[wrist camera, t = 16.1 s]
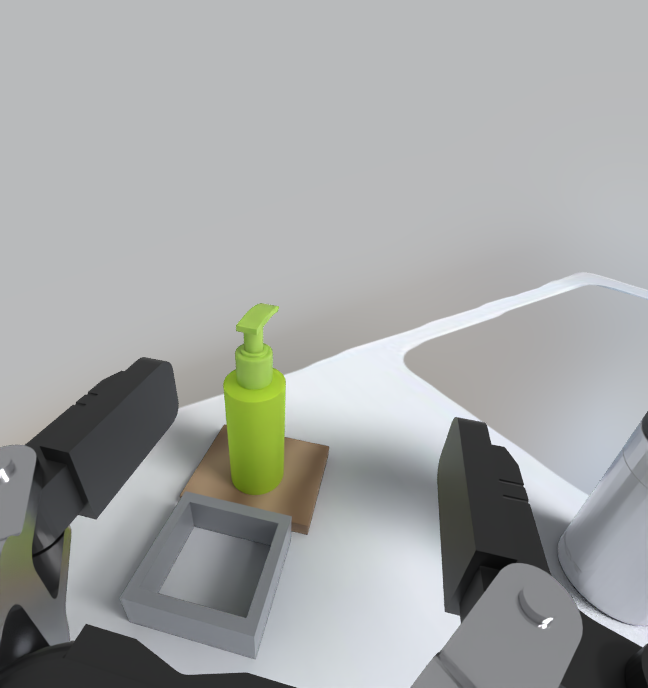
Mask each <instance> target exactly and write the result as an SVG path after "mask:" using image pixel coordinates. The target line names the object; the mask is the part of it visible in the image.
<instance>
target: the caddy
mask: <svg viewBox="0 0 648 688" xmlns="http://www.w3.org/2000/svg"><path fill="white" fill-rule="evenodd" d="M291 522H292V516H288V515H284V514H280V513H275V512H271V511H267V510H263V509H259V508H254V507H250V506H246V505H242V504H238V503H233V502H229V501H225V500H221V499H217V498H213V497H208V496H204V495H200V494H196V493H192V492H187V491H185V492H184V494H183V496H182V497H181V499H180V501H179V502H178V504H177V505H176V507H175V509H174V510H173V512H172V513H171V515H170V517H169V518H168V520H167V522H166V523H165V525H164V526H163V528H162V530H161V531H160V533H159V535H158V536H157V538H156V539H155V541H154V543H153V544H152V546H151V547H150V549H149V551H148V552H147V554H146V556H145V557H144V559H143V560H142V562H141V564H140V565H139V567H138V569H137V570H136V572H135V573H134V575H133V577H132V578H131V580H130V581H129V583H128V585H127V586H126V588H125V590H124V591H123V593H122V594H121V596H120V601H121V603H122V605H123V608H124V610H125V612H126V615H127V617H128V619H129V622H132V623H135V624H139V625H142V626H145V627H149V628H152V629H155V630H159V631H162V632H166V633H169V634H172V635H176V636H179V637H182V638H186V639H189V640H193V641H196V642H199V643H203V644H206V645H209V646H213V647H216V648H220V649H223V650H226V651H230V652H233V653H236V654H240V655H243V656H246V657H250V658H253V659H256V656H257V652H258V649H259V646H260V642H261V639H262V636H263V632H264V629H265V625H266V622H267V619H268V615H269V612H270V609H271V605H272V602H273V598H274V595H275V592H276V588H277V585H278V582H279V578H280V575H281V571H282V568H283V565H284V561H285V558H286V555H287V551H288V548H289V545H290V541H291ZM194 526H195V527H199V528H203V529H207V530H211V531H215V532H219V533H223V534H227V535H231V536H235V537H239V538H243V539H246V540H250V541H254V542H258V543H262V544H266V545H270V546H271V547H270V550H269V553H268V556H267V559H266V562H265V565H264V568H263V571H262V574H261V577H260V580H259V583H258V585H257V588H256V591H255V594H254V597H253V600H252V603H251V606H250V609H249V612H248V615H247V618H244V617H241V616H237V615H234V614H230V613H226V612H223V611H219V610H216V609H212V608H209V607H205V606H202V605H198V604H195V603H191V602H187V601H184V600H180V599H177V598H173V597H170V596H166V595H163V594H159V593H158V592H159V590H160V588H161V586H162V585H163V583H164V581H165V579H166V577H167V575H168V573H169V572H170V570H171V568H172V566H173V564H174V562H175V561H176V559H177V557H178V555H179V553H180V551H181V550H182V548H183V546H184V544H185V542H186V540H187V538H188V537H189V535H190V533H191V531H192V529H193V527H194Z"/></svg>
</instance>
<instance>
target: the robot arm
mask: <svg viewBox="0 0 648 688" xmlns="http://www.w3.org/2000/svg"><path fill="white" fill-rule="evenodd" d="M178 404H179V403H178V397H177V391H176V385H175V379H174V373H173V368H172V365H171V364H170V363H169V362H167V361H162V360H156V359H151V358H146V357H142V358H140V359H138V360H137V361H136V362H135V363H134V364H133V365H131V366H130V367H129V368H128V369H127V370H126V371H120V372H118V373H116V374H114V375H112V376H110V377H108V378H106V379H104V380H102V381H101V382H100V383H98V384H97V385H96V386H95V387H94V388H92V389H91V390H90V391H89V392H88V394H87V395H84V396H83V397H82V398H80V399H79V400H78V401H77V402H76V405H72V406H71V407H70V408H69V409H67V410H66V411H65V412H64V413H63V414H61V415H60V416H59V417H58V418H57V419H56V420H54V421H53V422H52V423H51V424H49V425H48V426H47V427H46V428H45V429H43V430H42V431H41V432H40V433H39V434H38V435H37V436H35V437H34V438H33V439H32V440H30V441H29V442H28V443H27V444H25V445H9V446H3V447H0V688H296V687H293V686H289V685H286V684H283V683H279V682H276V681H273V680H269V679H266V678H263V677H260V676H256V675H253V674H250V673H223V674H199V675H184V674H181V673H179V672H177V671H176V670H175V669H173V668H172V667H171V666H169V665H168V664H167V663H166V662H164V661H163V660H162V659H161V658H159V657H158V656H157V655H156V654H154V653H153V652H152V651H150V650H149V649H148V648H147V647H145V646H144V645H143V644H142V643H140V642H139V641H138V640H137V639H134V638H131V637H128V636H124V635H121V634H118V633H114V632H111V631H108V630H104V629H101V628H98V627H94V626H91V625H88V624H86V625H85V626H84V628H83V629H82V631H81V632H80V634H79V635H78V637H77V638H76V640H75V641H70V633H69V626H68V621H67V617H66V591H67V579H68V567H69V555H70V544H71V527H70V523H71V522H72V521H73V520H74V519H75V517H76V516H77V515H81V516H85V517H89V518H92V519H97V518H98V516H99V515H100V514H101V513H102V511H103V510H104V509H105V508H106V506H107V505H108V504H109V503H110V501H111V500H112V499H113V498H114V496H115V495H116V494H117V493H118V491H119V490H120V489H121V487H122V486H123V485H124V484H125V482H126V481H127V480H128V479H129V477H130V476H131V475H132V474H133V472H134V471H135V470H136V469H137V467H138V466H139V465H140V464H141V462H142V461H143V460H144V459H145V457H146V456H147V455H148V454H149V452H150V451H151V450H152V449H153V447H154V446H155V445H156V443H157V442H158V441H159V440H160V438H161V437H162V436H163V435H164V433H165V432H166V431H167V430H168V428H169V427H170V426H171V425H172V423H173V422H174V420H175V418H176V415H177V412H178ZM437 485H438V502H439V519H440V537H441V554H442V571H443V589H444V606H445V612H448V613H452V614H455V615H459V616H460V619H461V625H460V626H459V627H458V629H457V630H456V631H455V633H454V634H453V635H452V637H451V638H450V639H449V641H448V642H447V644H446V645H445V646H444V647H443V649H442V650H441V651H440V652H438V653H437V654H436V655H435V656H434V657H433V659H432V660H431V661H430V662H429V664H428V665H427V666H426V668H425V669H424V670H423V671H422V673H421V674H420V676H419V677H418V678H417V680H416V681H415V682H414V684H413V685H412V686H411V688H648V644H646V645H645V646H644V647H641V646H639V645H637V644H635V643H634V642H632V641H630V640H628V639H626V638H625V637H623V636H621V635H619V634H617V633H616V632H614V631H612V630H610V629H608V628H607V627H605V626H603V625H601V624H599V623H598V622H596V621H594V620H593V619H591V618H589V617H588V616H587V615H585V614H584V613H583V612H581V611H580V610H579V609H578V608H577V606H576V604H575V602H574V600H573V599H572V597H571V596H570V594H569V593H568V592H567V590H566V589H565V588H564V587H563V586H562V585H561V584H560V583H559V582H558V581H557V580H556V579H555V578H554V577H552V575H551V573H550V571H549V568H548V565H547V561H546V558H545V555H544V551H543V548H542V544H541V541H540V538H539V534H538V531H537V527H536V524H535V520H534V517H533V514H532V510H531V507H530V504H528V497H527V493H526V490H525V488H524V487H523V485H524V483H523V480H522V476H521V473H520V469H519V466H518V464H517V463H516V461H515V460H514V459H513V457H512V456H511V455H510V453H509V452H508V451H507V449H506V448H505V447H501V446H496V445H491V441H490V437H489V432H488V428H487V425H486V423H484V422H479V421H474V420H468V419H463V418H458V417H455V418H454V419H453V421H452V424H451V427H450V430H449V433H448V436H447V438H446V441H445V444H444V447H443V450H442V453H441V456H440V460H439V465H438V474H437ZM558 557H559V561H560V564H561V566H562V568H563V571H564V572H565V574H566V576H567V577H568V579H569V580H570V582H571V583H572V584H573V586H574V587H575V588H576V589H577V590H578V592H579V593H580V594H581V595H582V596H584V597H585V598H586V599H587V600H588V601H589V602H590V603H591V604H593V605H594V606H595V607H597V608H598V609H599V610H600V611H602V612H604V613H606V614H607V615H609V616H611V617H612V618H615V619H617V620H619V621H622V622H624V623H627V624H632V625H636V626H648V412H647V413H646V415H645V416H644V417H643V419H642V421H641V422H640V423H639V425H638V426H637V428H636V429H635V431H634V432H633V434H632V435H631V436H630V438H629V439H628V441H627V442H626V444H625V445H624V447H623V448H622V450H621V451H620V453H619V454H618V456H617V457H616V458H615V460H614V461H613V463H612V464H611V466H610V467H609V468H608V470H607V471H606V473H605V474H604V476H603V477H602V479H601V480H600V482H599V483H598V484H597V486H596V487H595V489H594V490H593V492H592V493H591V494H590V496H589V497H588V499H587V500H586V502H585V503H584V505H583V506H582V507H581V509H580V510H579V512H578V513H577V515H576V516H575V517H574V519H573V520H572V522H571V523H570V525H569V526H568V528H567V529H566V530H565V532H564V533H563V535H562V536H561V538H560V540H559V543H558Z"/></svg>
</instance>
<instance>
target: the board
mask: <svg viewBox="0 0 648 688" xmlns="http://www.w3.org/2000/svg"><path fill="white" fill-rule="evenodd" d="M328 453H329V446H325V445H320V444H315V443H310V442H306V441H301V440H296V439H291V438H286V437H284V474H283V478H282V480H281V482H280V484H279V485H278V486H277V487H276V488H275V489H273V490H272V491H270V492H268V493H265V494H261V495H249V494H245V493H243V492H241V491H239V490H238V489H237V488H236V487H235V486H234V484H233V482H232V478H231V468H230V456H229V445H228V433H227V425H224V426H223V427H222V429H221V430H220V432H219V434H218V435H217V437H216V438H215V440H214V442H213V443H212V445H211V446H210V448H209V450H208V451H207V453H206V454H205V456H204V458H203V459H202V461H201V462H200V464H199V466H198V467H197V469H196V470H195V472H194V474H193V475H192V477H191V478H190V480H189V482H188V483H187V485H186V486H185V488H184V490H183V491H182V493H181V494H180V498H181V497H182V496H183V494H184V492H185V491H187V492H192V493H196V494H200V495H204V496H208V497H213V498H217V499H221V500H225V501H229V502H233V503H238V504H242V505H246V506H250V507H254V508H259V509H263V510H267V511H271V512H275V513H280V514H284V515H288V516H292V522H291V531H294V532H298V533H302V534H306V535H308V531H309V527H310V523H311V519H312V515H313V512H314V508H315V504H316V500H317V496H318V492H319V489H320V485H321V481H322V477H323V473H324V469H325V466H326V462H327V458H328Z"/></svg>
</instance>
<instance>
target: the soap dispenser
mask: <svg viewBox="0 0 648 688" xmlns="http://www.w3.org/2000/svg"><path fill="white" fill-rule="evenodd" d="M278 309H279V307H278V306H274V305H268V304H262V303H260V304H257V305H255V306H254V307H252V308H251V309H250V310H249V311H248V312H247V313H246V314H245V315H244V316H243V318H242V319H241V320H240V321H239V323H238V324H237V325H236V331H238V332H243V333H244V344H242V345H240V346H239V347H238V348H237V349H236V351H235V360H236V369H235V370H234V371H232V372H231V373H230V374H229V375H227V377H226V378H225V380H224V384H223V385H224V386H223V387H224V398H225V410H226V421H227V433H228V445H229V456H230V468H231V478H232V482H233V484H234V486H235V487H236V488H237V489H238V490H239V491H241V492H243V493H245V494H249V495H261V494H265V493H268V492H270V491H272V490H273V489H275V488H276V487H277V486H278V485H279V484H280V482H281V480H282V478H283V474H284V433H285V389H286V381H285V378H284V376H283V374H282V373H281V372H279V371H278V370H277V369H274V368H273V352H272V349H271V347H269V346H268V345H266V344H264V343H263V327H264V325H265V324H266V323H267V321H268V320H269V319H270V318H271V317H272V316H273V315H274V314H275V313H276V312H278Z"/></svg>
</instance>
